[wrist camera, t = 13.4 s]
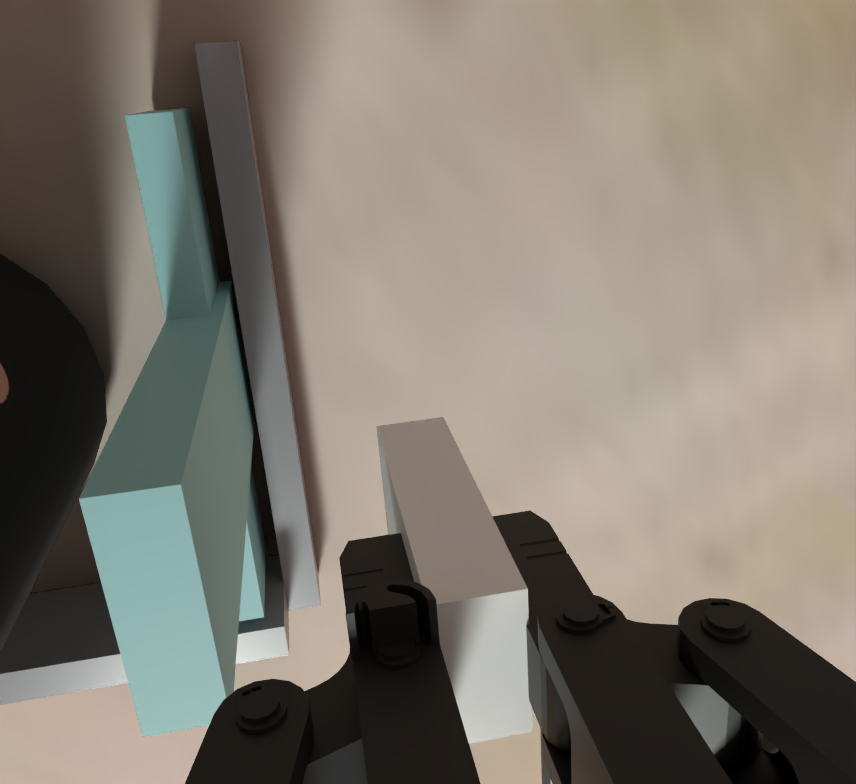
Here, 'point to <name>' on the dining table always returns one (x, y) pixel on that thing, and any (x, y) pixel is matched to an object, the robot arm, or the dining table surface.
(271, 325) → the grey piece
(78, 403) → the coffee jar
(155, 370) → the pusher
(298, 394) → the dining table surface
